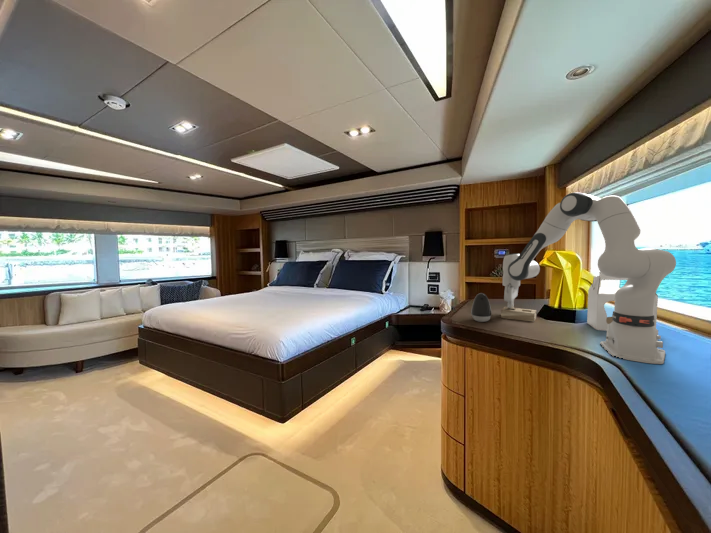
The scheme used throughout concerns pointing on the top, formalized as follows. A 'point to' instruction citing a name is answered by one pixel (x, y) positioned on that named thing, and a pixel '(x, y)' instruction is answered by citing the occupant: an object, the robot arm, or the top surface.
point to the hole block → (519, 314)
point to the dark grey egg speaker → (481, 308)
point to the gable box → (599, 298)
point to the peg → (512, 306)
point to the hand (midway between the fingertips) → (510, 306)
